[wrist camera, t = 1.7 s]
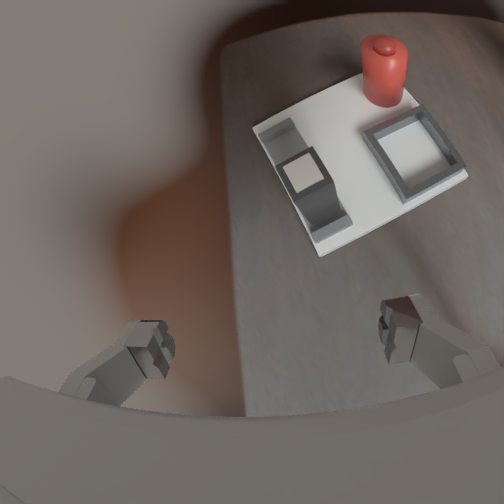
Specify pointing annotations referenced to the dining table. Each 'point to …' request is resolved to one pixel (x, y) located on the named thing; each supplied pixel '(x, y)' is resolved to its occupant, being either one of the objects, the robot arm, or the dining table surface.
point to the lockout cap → (383, 69)
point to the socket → (437, 135)
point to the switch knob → (309, 185)
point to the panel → (355, 158)
